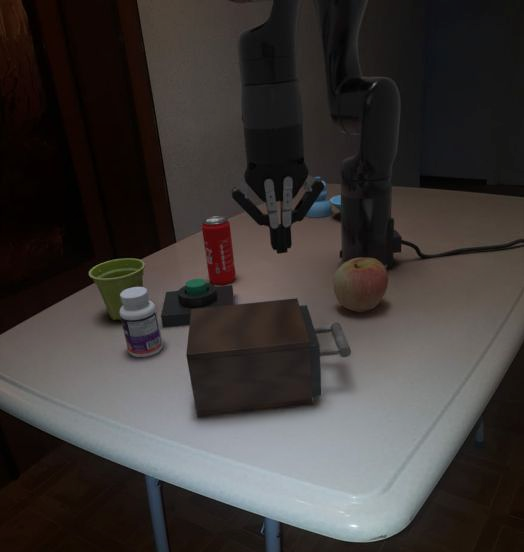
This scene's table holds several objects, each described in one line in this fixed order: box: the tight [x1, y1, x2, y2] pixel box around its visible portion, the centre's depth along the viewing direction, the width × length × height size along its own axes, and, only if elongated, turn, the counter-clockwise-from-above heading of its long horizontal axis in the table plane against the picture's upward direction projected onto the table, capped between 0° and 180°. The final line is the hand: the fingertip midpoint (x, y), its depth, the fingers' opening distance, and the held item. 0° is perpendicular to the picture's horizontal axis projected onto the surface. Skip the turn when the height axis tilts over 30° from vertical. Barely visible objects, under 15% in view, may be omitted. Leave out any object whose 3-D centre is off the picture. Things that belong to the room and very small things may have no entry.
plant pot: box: [88, 257, 146, 321], centre depth 96 cm, size 9×9×9 cm
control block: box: [160, 282, 235, 328], centre depth 96 cm, size 12×10×4 cm
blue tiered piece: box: [305, 176, 341, 219], centre depth 137 cm, size 18×10×9 cm, turn 56°
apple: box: [332, 258, 389, 313], centre depth 91 cm, size 9×9×8 cm
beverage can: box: [201, 215, 236, 286], centre depth 105 cm, size 5×5×12 cm
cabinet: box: [185, 297, 314, 418], centre depth 73 cm, size 15×13×9 cm
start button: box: [184, 278, 208, 295], centre depth 95 cm, size 4×4×2 cm
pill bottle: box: [120, 286, 164, 358], centre depth 84 cm, size 5×5×10 cm
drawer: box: [299, 304, 352, 397], centre depth 73 cm, size 18×11×7 cm, turn 94°
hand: (281, 251), depth 79 cm, fingers closed
